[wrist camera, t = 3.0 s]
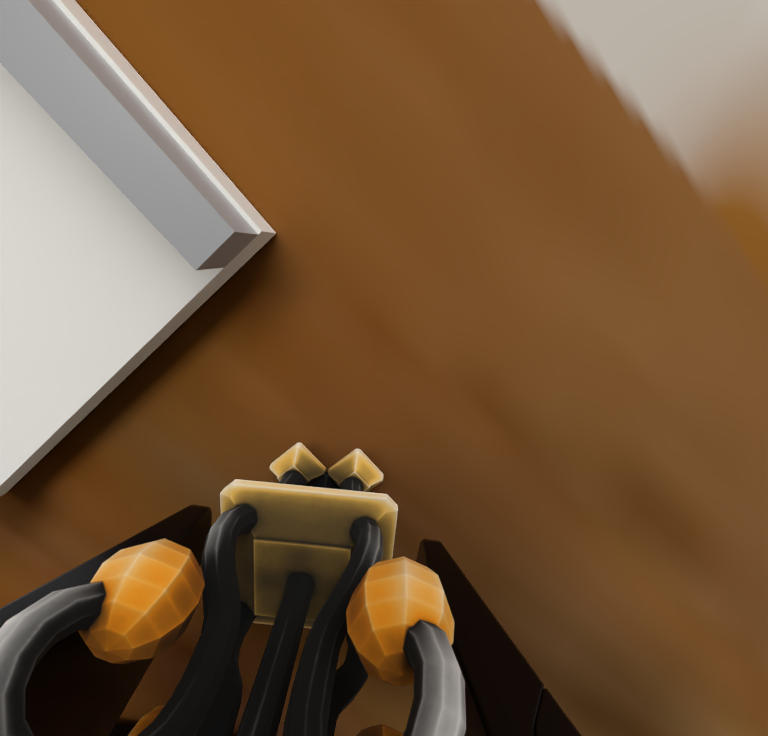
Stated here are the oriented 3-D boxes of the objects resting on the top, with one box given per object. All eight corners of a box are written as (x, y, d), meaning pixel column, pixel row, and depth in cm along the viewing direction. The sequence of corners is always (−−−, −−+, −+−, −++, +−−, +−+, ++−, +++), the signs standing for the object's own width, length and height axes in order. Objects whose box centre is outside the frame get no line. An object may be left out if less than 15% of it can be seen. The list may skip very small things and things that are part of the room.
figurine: (450, 421, 9) (539, 1330, 1) (425, 580, 11) (402, 1456, 3) (259, 395, 10) (-464, 984, 2) (260, 551, 11) (-142, 1244, 3)
